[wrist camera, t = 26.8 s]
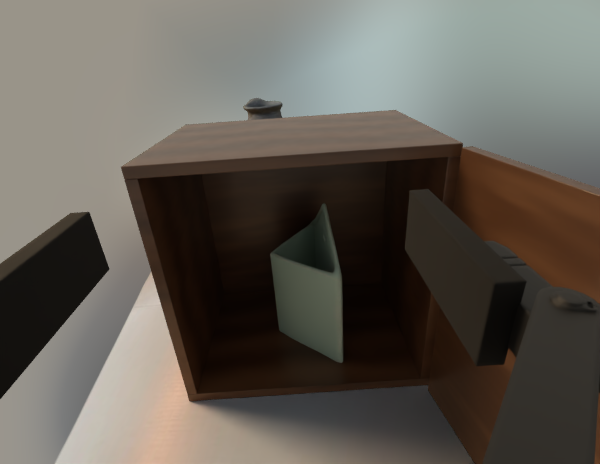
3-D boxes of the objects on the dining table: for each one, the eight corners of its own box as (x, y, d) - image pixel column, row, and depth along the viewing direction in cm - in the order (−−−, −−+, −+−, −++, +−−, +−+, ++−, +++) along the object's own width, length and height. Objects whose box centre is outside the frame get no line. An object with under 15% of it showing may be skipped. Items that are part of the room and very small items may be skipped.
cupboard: (429, 384, 45) (463, 143, 31) (189, 401, 45) (120, 166, 31) (386, 284, 64) (395, 109, 51) (219, 296, 64) (185, 124, 51)
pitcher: (256, 177, 128) (247, 104, 117) (234, 165, 145) (225, 100, 134) (305, 166, 137) (301, 98, 126) (279, 156, 154) (273, 95, 143)
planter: (274, 298, 61) (261, 189, 52) (319, 291, 62) (314, 183, 53) (285, 372, 46) (270, 239, 38) (344, 362, 47) (342, 230, 38)
